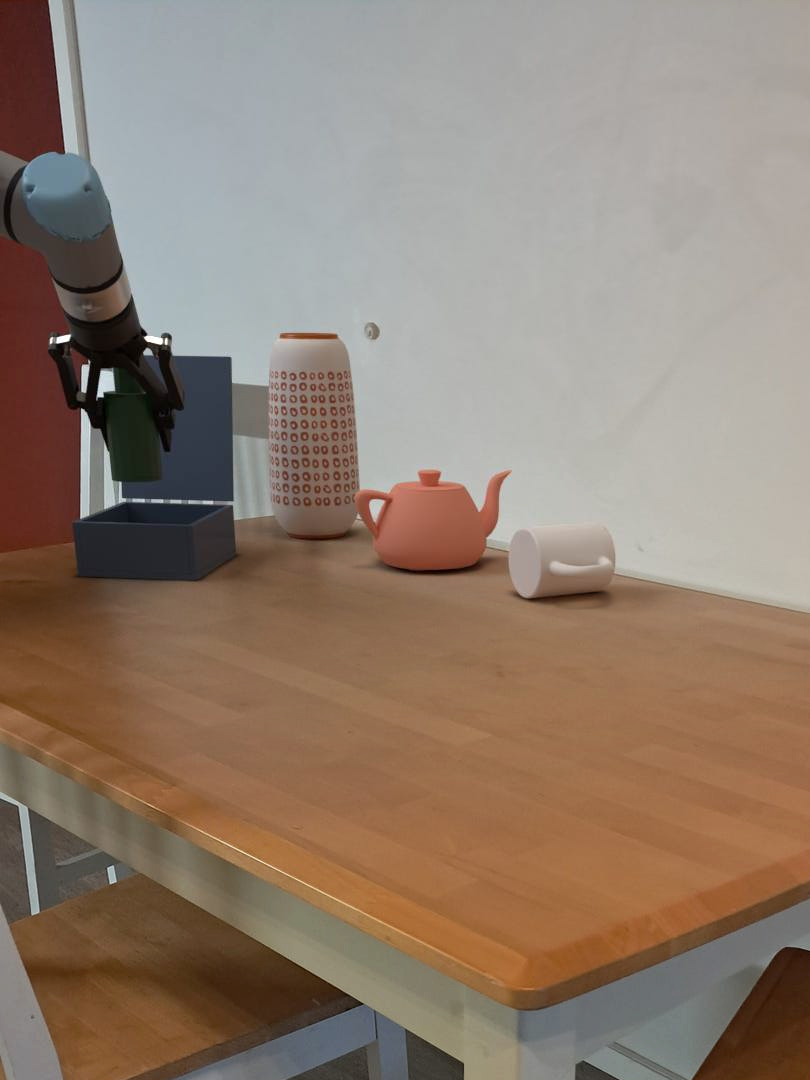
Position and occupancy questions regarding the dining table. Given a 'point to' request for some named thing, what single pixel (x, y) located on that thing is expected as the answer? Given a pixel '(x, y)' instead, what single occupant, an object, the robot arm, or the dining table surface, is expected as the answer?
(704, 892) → the dining table surface
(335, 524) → the white patterned vase
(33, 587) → the dining table surface
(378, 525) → the teapot
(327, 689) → the dining table surface
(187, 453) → the chest lid
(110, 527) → the chest
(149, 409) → the bottle
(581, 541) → the mug
